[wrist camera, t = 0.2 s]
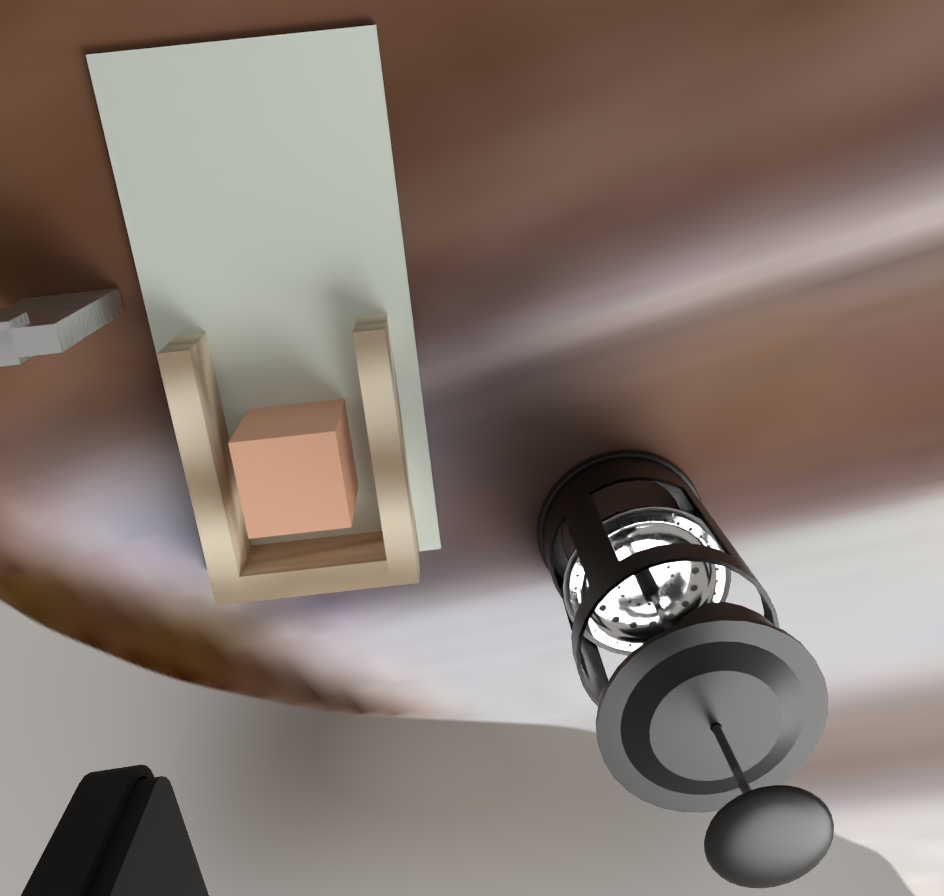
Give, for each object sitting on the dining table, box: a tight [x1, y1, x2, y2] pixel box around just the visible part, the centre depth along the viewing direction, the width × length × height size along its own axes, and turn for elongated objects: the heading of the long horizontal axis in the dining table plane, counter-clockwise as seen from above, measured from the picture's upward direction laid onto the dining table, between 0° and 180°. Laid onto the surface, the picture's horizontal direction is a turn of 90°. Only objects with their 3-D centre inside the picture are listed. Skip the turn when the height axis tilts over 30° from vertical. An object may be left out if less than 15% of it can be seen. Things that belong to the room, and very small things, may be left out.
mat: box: [86, 25, 441, 570], centre depth 44 cm, size 26×13×1 cm, turn 6°
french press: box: [538, 450, 834, 888], centre depth 38 cm, size 12×9×23 cm
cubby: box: [157, 313, 420, 605], centre depth 44 cm, size 14×11×4 cm
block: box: [228, 399, 359, 539], centre depth 43 cm, size 5×5×5 cm
